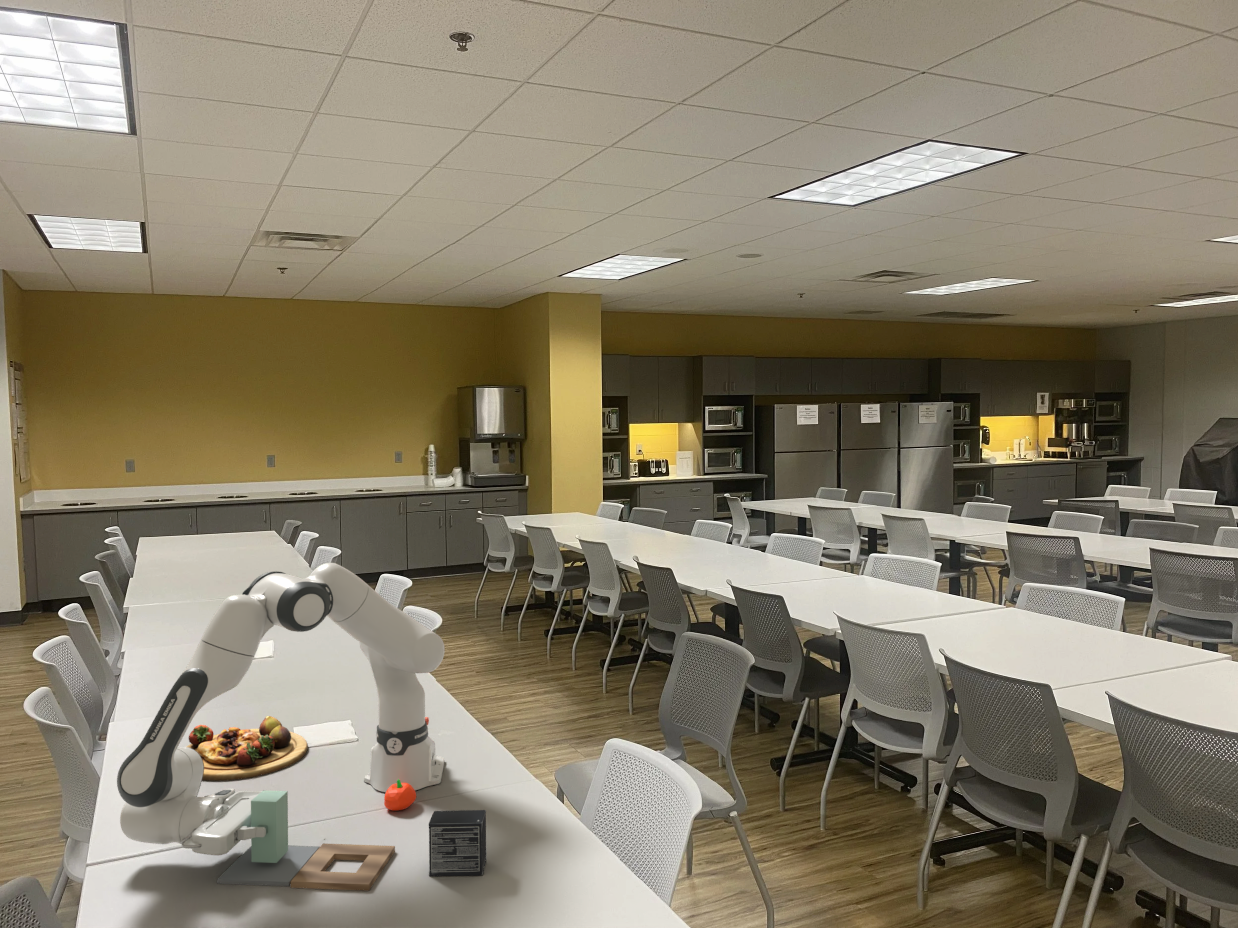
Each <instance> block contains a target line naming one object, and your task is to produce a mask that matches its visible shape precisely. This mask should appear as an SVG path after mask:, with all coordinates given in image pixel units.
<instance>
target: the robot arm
mask: <svg viewBox="0 0 1238 928" xmlns="http://www.w3.org/2000/svg"><path fill="white" fill-rule="evenodd" d="M326 617H327V618H328V619H329V620H331V621H332V622H333V623H335V624H336V625H337V626H338V627H340V628H341V629H342V630H343V631H344V632H346V633H347V634H349V635H350V636H351V637H352V638H353V639H354V640H356V641H358V642H359V648H360V651H362V653H363V655H364V656H365V657H366V660H367V662H368V665H369V666H370V669H371V673H372V677H373V679H374V684H375V688H376V694H377V709H378V710H377V712H378V717H377V718H378V724H377V725H376V731H375V733H376V734H375V736H376V743H375V744H374V745H373V746H372V747H371V750H370V761H369V762H370V763H369V772H368V773H367V774H365V776H364V778H363V782H365V783H367V784H368V785H369V784H370V786H371V787H372V788H373V789H375V790H376V791H379V792H383V793H386V791H387V789H388V788H389V787H390V786H391V785H392V784H396V783H397V780H398V779H399V780H400V782H401V783H408V784H410V785H411V786H412V787H413V789H414V790H415V791H417V790H421V789H423V788H426V787H429V786H433V785H438V784H440V783H441V782H442V778H443V771H444V767H445V757H443V756H440V755H436V742H435V740H433V739H432V738H431V737H430V736H429V728H428V727H429V723H430V717H429V716H426V692H425V689H424V687H423V685H422V684H421V682H420V681H419V678H418V677H417V675H416V674H428V673H431V672H434V671H435V670H436V669H437V668H439V666H440V665H441V663H442V662H443V659H444V656H445V649H446V648H445V647H446V646H445V643H444V641H443V638H442V637H441V636H440V635H439V634H438V633H435V632H434V631H433V630H431V629H429V628H428V627H427V626H424V625H423V624H422V623H420V622H419V621H418V620H416V619H414V618H413V617H412V616H410V615H409V614H407V613H406V612H404V611H403V610H401V609H400V608H399V607H396V606H395V605H393V604H392V603H390V602H389V601H388V600H386V599H385V598H384V597H382V595H380V594H379V593H378V592H377V591H376V590H374V589H373V588H372V587H371V586H370V585H369V584H368V583H367V582H365V581H364V580H363V579H362V578H360V577H359V576H358V575H356V573H353V572H352V571H351V570H349V569H347V568H345V567H344V566H342V565H340V564H338V563H335V562H326V563H325V562H324V563H322V564H320V565H319V566H317V567H316V568H314V569H313V571H312V572H311V573H310V574H309V575H308V576H307V577H304V578H303V577H299V576H297V575H293V574H288V573H285V572H283V571H277V570H275V571H267V572H264V573H262V574H259V576H258V577H256V578H255V579H254V580H253V581H252V582H250V584H249V586H248V587H247V588H246V589H245V590H244V591H242V593H240V594H232V595H230V596H229V595H228V597H226V598H225V599H224V600H223V601H222V602H221V603H220V605H219V606H218V608H217V609H216V611H215V613H214V614H213V616H212V617H211V619H210V620H209V622H208V624H207V626H206V628H205V630H204V632H203V634H202V637H201V638H200V640H199V643H198V645H197V647H196V649H195V651H194V653H193V654H192V657H191V659H189V662H188V664H187V666H186V667H185V669H184V670H183V672H182V673H181V674H180V676H179V677H177V680H176V681H175V683H174V684H173V685H172V687H171V689H170V690H169V692H168V693H167V695H166V696H165V699H164V700H163V702H162V704H161V706H160V707H159V709H158V711H157V713H156V715H155V717H154V719H153V720H152V722H151V724H150V726H149V727H148V729H147V732H146V733H145V735H144V737H143V738H142V740H141V742H140V743H139V744H138V746H137V747H136V748H135V749H134V750H133V751H132V752H131V753H130V754H128V756H127V757H126V758H125V759H124V761H123V762H122V763H121V765H120V766H119V770H118V772H117V776H116V785H117V786H116V787H117V790H118V793H119V795H120V797H121V798H122V800H123V801H124V802H125V803H124V805H123V807H122V808H121V812H120V818H119V819H120V820H119V822H120V828H121V829H120V830H121V831H122V833H123V834H124V835H125V837H126V838H128V839H129V840H132V841H135V842H139V843H146V844H153V845H154V844H155V845H168V844H172V843H173V844H174V843H177V844H180V845H181V847H183V849H187V850H188V849H191V850H192V852H193V853H195V854H201V855H209V856H222V855H227V854H228V853H229V852H230V851H231V850H232V849H233V848H234V847H235V846H236V845H237V844H238V843H239V842H241V841H247V840H251V838H255V837H264V836H265V835H266V834H267V833H268V826H267V825H258V826H257V827H251V800H253V799H254V798H255V797H256V796H257V795H258V794H260V793H261V792H262V791H255V790H239V791H236V789H235V788H224V789H222V790H220V791H218V792H215V793H213V794H209V795H205V796H198V794H199V792H200V789H201V786H202V781H203V780H202V778H203V773H204V763H203V760H202V758H201V756H200V754H199V753H198V752H197V751H195V750H194V749H192V748H189V747H187V746H181V747H179V745H180V744H181V742H182V740H183V737H184V736H185V734H186V732H187V730H188V729H189V727H190V725H191V724H192V721H193V719H194V718H195V716H196V714H197V713H198V712H199V711H200V710H201V709H202V708H203V707H204V706H205V705H206V704H208V703H209V702H210V701H212V700H214V699H215V698H217V697H219V696H221V695H223V694H225V693H227V692H229V691H231V690H233V689H234V688H236V687H238V685H240V683H241V682H242V680H243V679H244V677H245V676H246V674H247V673H248V671H249V669H250V667H251V666H252V662H253V661H254V658H255V656H256V654H257V652H258V649H259V646H260V643H261V640H262V639H263V637H264V636H265V635H266V633H267V632H268V631H269V630H271V629H272V628H273V627H274V626H278V627H281V628H284V629H286V630H288V631H290V632H297V633H303V632H308V631H311V630H313V629H315V628H317V627H318V626H319V625H320V624H321V623H323V621H324V620H325V619H326Z"/></svg>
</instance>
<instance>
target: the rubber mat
mask: <svg viewBox="0 0 1238 928" xmlns="http://www.w3.org/2000/svg"><path fill="white" fill-rule="evenodd" d="M320 846H321V845H320ZM320 846H319V845H316V846H315V845H295V844H294V845H289V844H288V851H287V852H286V853H285V854H284V856H283V857H282V858H281V859H280V860H279V861H278V862H277V863H265V862H252V857H251V846H249V847H248V848H247V849H246V850H245V852H243V853H242V854H241V855H240V856H239V857H238V858H237V859H236V860H235V861H234V862H233V863H232V864H230V866H228V868H227V869H225V871H224V872H223V873H222V874H221V875H220V876H219V877H218V878H217V879H216V883H217V884H220V885H221V884H223V885H224V884H225V885H226V884H228V885H247V886H249V885H252V886H253V885H254V886H272V887H273V886H276V887H278V886H279V887H291V880H292V879H293V878H294V877H295V876H296V874H297V873H298V872H299V871H300V870H301V869H302V867H303V866H304V865H305V864H306V863H307V862H308V860H309V859H310V858H311V857H312V856H313V855H314V853H315V852H316V851H317V850H318V849H319V848H320Z"/></svg>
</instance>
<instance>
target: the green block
mask: <svg viewBox="0 0 1238 928" xmlns="http://www.w3.org/2000/svg"><path fill="white" fill-rule="evenodd" d="M260 792H261V793H260V794H258V795H257V796H256V797H255V798H254V799H253V800H251V827H257V826H258V825H267V826H268V833H267V834H266V835H265V836H264V837H255V838H251V839H250V840H251V841H250V842H251V844H250V847H251V857H252V862H265V863H277V862H278V861H279V860H280V859H281V858H282V857H283V856H284V854H285V853H286V852H287V851H288V845H289V817H288V816H289V815H288V814H289V813H288V812H289V811H288V810H289V806H288V805H289V801H288V798H289V797H288V796H289V793H288V790H267V789H266V790H264V789H263V790H262V791H260Z"/></svg>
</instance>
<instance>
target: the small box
mask: <svg viewBox="0 0 1238 928" xmlns="http://www.w3.org/2000/svg"><path fill="white" fill-rule="evenodd" d="M428 834H429V835H428V843H429V844H428V849H429V850H428V851H429V853H428V858H429V861H428V863H429V871H428V876H429V877H465V876H466V877H468V876H470V877H471V876H477V877H478V876H483V875H484V873H485V868H486V865H487V810H486V809H469V810H468V809H467V810H464V809H463V810H462V809H461V810H433V812H432V815H431V817H430V819H429V822H428Z"/></svg>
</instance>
